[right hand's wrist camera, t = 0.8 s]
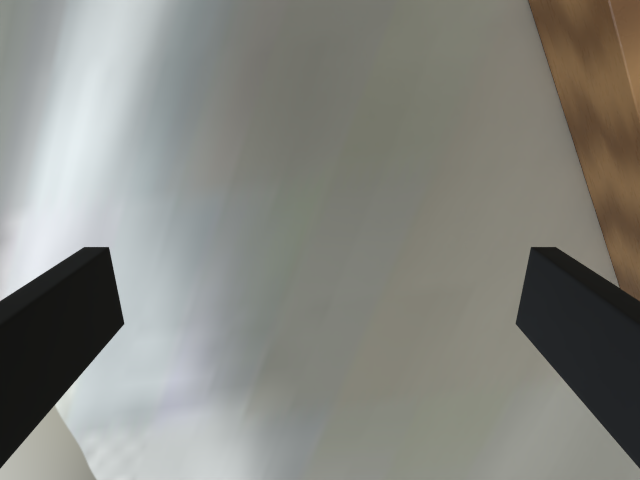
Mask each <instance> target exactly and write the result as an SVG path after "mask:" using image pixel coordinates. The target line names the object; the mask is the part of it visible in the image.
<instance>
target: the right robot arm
mask: <svg viewBox="0 0 640 480" xmlns="http://www.w3.org/2000/svg"><path fill="white" fill-rule="evenodd" d="M123 325H124V320H123V315H122V310H121V305H120V300H119V295H118V290H117V285H116V280H115V275H114V270H113V265H112V260H111V255H110V250H109V247H84V248H82V249H81V250H79V251H78V252H76V253H74V254H73V255H71V256H70V257H68V258H67V259H65V260H64V261H62V262H60V263H59V264H57V265H56V266H54V267H53V268H51V269H50V270H48V271H46V272H45V273H43V274H42V275H40V276H39V277H37V278H36V279H34V280H32V281H31V282H29V283H28V284H26V285H25V286H23V287H22V288H20V289H18V290H17V291H15V292H14V293H12V294H11V295H9V296H8V297H6V298H5V299H3V300H1V301H0V468H1V467H2V466H3V465H4V464H5V462H6V461H7V460H8V459H9V458H10V456H11V455H12V454H13V453H14V452H15V451H16V450H17V448H18V447H19V446H20V445H21V444H22V443H23V441H24V440H25V439H26V438H27V437H28V436H29V434H30V433H31V432H32V431H33V430H34V428H35V427H36V426H37V425H38V424H39V423H40V421H41V420H42V419H43V418H44V417H45V416H46V414H47V413H48V412H49V411H50V410H51V409H52V408H53V406H54V405H55V404H56V403H57V402H58V401H59V399H60V398H61V397H62V396H63V395H64V394H65V392H66V391H67V390H68V389H69V388H70V387H71V385H72V384H73V383H74V382H75V381H76V380H77V378H78V377H79V376H80V375H81V374H82V373H83V371H84V370H85V369H86V368H87V367H88V366H89V364H90V363H91V362H92V361H93V360H94V359H95V357H96V356H97V355H98V354H99V353H100V352H101V350H102V349H103V348H104V347H105V346H106V345H107V343H108V342H109V341H110V340H111V339H112V338H113V336H114V335H115V334H116V333H117V332H118V331H119V329H120V328H121V327H122V326H123ZM516 325H517V326H518V327H519V328H520V329H521V331H522V332H523V333H524V334H525V335H526V336H527V338H528V339H529V340H530V341H531V342H532V343H533V345H534V346H535V347H536V348H537V349H538V350H539V352H540V353H541V354H542V355H543V356H544V357H545V359H546V360H547V361H548V362H549V363H550V364H551V366H552V367H553V368H554V369H555V370H556V371H557V373H558V374H559V375H560V376H561V377H562V378H563V380H564V381H565V382H566V383H567V384H568V385H569V387H570V388H571V389H572V390H573V391H574V392H575V394H576V395H577V396H578V397H579V398H580V399H581V401H582V402H583V403H584V404H585V405H586V406H587V408H588V409H589V410H590V411H591V412H592V413H593V415H594V416H595V417H596V418H597V419H598V420H599V422H600V423H601V424H602V425H603V426H604V427H605V429H606V430H607V431H608V432H609V433H610V434H611V436H612V437H613V438H614V439H615V440H616V441H617V443H618V444H619V445H620V446H621V447H622V448H623V450H624V451H625V452H626V453H627V454H628V455H629V457H630V458H631V459H632V460H633V461H634V462H635V464H636V465H637V466H638V467H639V468H640V301H639V300H637V299H635V298H634V297H632V296H631V295H629V294H628V293H626V292H625V291H623V290H621V289H620V288H618V287H617V286H615V285H614V284H612V283H611V282H609V281H608V280H606V279H604V278H603V277H601V276H600V275H598V274H597V273H595V272H594V271H592V270H590V269H589V268H587V267H586V266H584V265H583V264H581V263H580V262H578V261H576V260H575V259H573V258H572V257H570V256H569V255H567V254H566V253H564V252H562V251H561V250H559V249H558V248H556V247H531V250H530V255H529V260H528V265H527V270H526V275H525V280H524V285H523V290H522V295H521V300H520V305H519V310H518V315H517V320H516Z"/></svg>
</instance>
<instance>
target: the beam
mask: <svg viewBox="0 0 640 480" xmlns="http://www.w3.org/2000/svg"><path fill="white" fill-rule="evenodd" d="M529 4H530V7H531V10H532V13H533V16H534V19H535V22H536V25H537V29H538V32H539V35H540V38H541V41H542V44H543V47H544V51H545V54H546V57H547V60H548V63H549V66H550V69H551V72H552V76H553V79H554V82H555V85H556V88H557V91H558V94H559V98H560V101H561V104H562V107H563V110H564V113H565V116H566V119H567V123H568V126H569V129H570V132H571V135H572V138H573V141H574V145H575V148H576V151H577V154H578V157H579V160H580V163H581V166H582V170H583V173H584V176H585V179H586V182H587V185H588V188H589V192H590V195H591V198H592V201H593V204H594V207H595V210H596V213H597V217H598V220H599V223H600V226H601V229H602V232H603V235H604V239H605V242H606V245H607V248H608V251H609V254H610V257H611V260H612V264H613V267H614V270H615V273H616V276H617V279H618V282H619V286H620V289H621V290H623V291H625V292H626V293H628V294H629V295H631V296H632V297H634V298H635V299H637V300H639V301H640V0H529Z"/></svg>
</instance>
